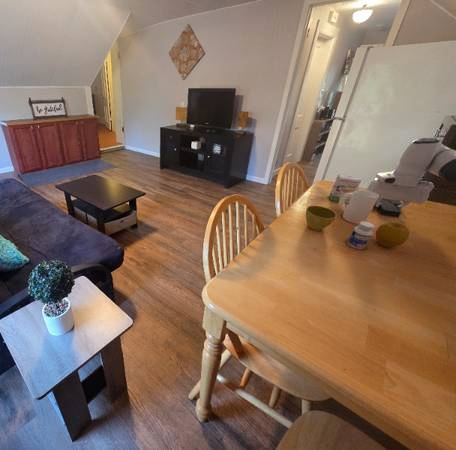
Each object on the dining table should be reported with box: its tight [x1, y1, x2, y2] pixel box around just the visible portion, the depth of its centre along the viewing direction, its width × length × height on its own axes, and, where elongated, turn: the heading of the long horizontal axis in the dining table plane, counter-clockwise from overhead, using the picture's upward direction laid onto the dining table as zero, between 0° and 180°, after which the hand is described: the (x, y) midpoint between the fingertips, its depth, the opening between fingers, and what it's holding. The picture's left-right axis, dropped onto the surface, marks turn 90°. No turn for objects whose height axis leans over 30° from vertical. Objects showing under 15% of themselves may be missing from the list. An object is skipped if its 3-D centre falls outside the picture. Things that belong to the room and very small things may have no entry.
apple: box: [375, 221, 411, 248], centre depth 86 cm, size 8×8×9 cm
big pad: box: [374, 198, 403, 207], centre depth 118 cm, size 14×12×2 cm
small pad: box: [374, 200, 402, 218], centre depth 110 cm, size 6×12×2 cm, turn 159°
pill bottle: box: [347, 221, 375, 250], centre depth 86 cm, size 5×5×9 cm
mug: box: [338, 188, 379, 225], centre depth 102 cm, size 8×12×12 cm
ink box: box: [328, 173, 362, 204], centre depth 116 cm, size 8×5×12 cm, turn 66°
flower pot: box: [305, 205, 338, 231], centre depth 96 cm, size 10×10×7 cm
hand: (387, 208), depth 109 cm, fingers closed on small pad, 6 cm apart
